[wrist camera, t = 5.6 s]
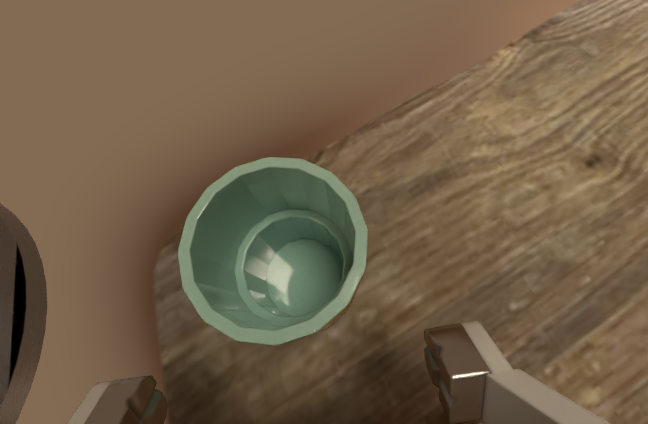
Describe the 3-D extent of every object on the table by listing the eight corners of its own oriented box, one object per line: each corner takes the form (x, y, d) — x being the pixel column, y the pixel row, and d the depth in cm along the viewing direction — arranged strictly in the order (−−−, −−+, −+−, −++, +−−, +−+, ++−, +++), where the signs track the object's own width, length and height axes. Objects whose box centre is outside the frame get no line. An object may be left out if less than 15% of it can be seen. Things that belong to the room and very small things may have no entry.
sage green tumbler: (269, 346, 17) (193, 372, 8) (247, 246, 19) (168, 186, 10) (371, 313, 17) (397, 306, 9) (338, 218, 19) (333, 136, 11)
